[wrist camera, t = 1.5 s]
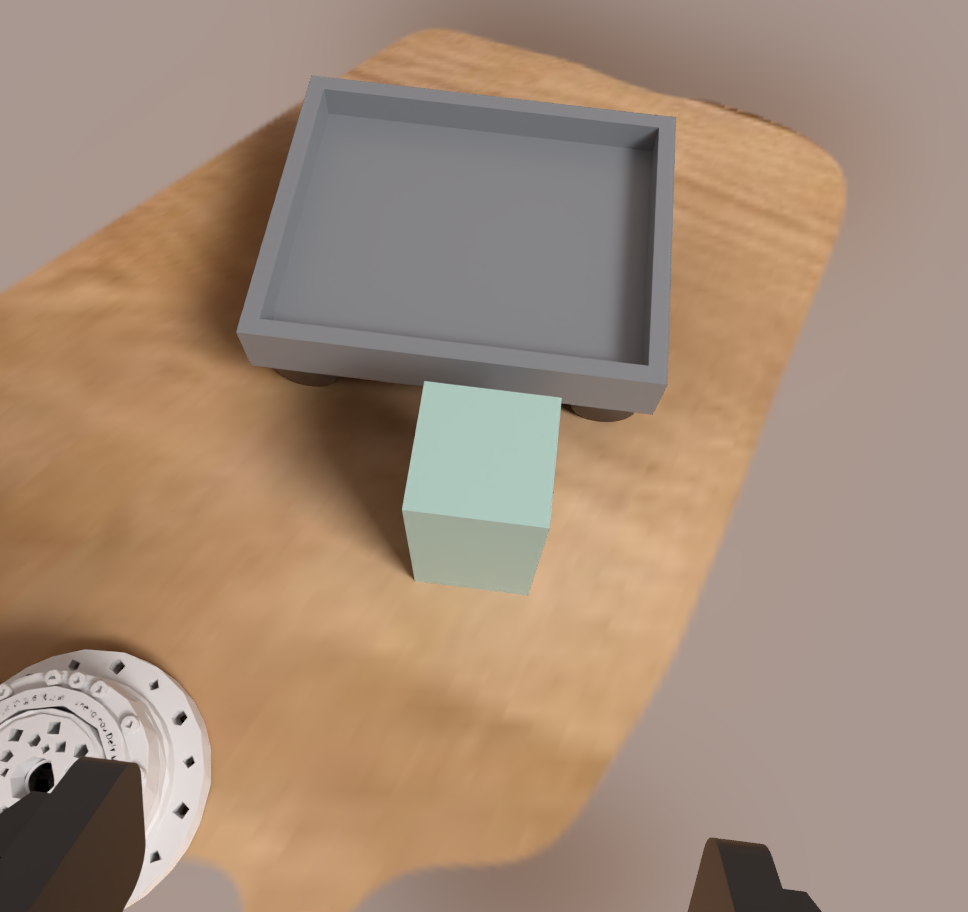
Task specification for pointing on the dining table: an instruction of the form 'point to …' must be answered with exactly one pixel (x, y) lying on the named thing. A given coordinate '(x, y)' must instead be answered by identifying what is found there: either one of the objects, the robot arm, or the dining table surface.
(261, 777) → the dining table surface
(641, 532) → the dining table surface
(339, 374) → the grey shallow tray
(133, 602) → the dining table surface
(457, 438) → the sage part block
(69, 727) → the mechanical component
